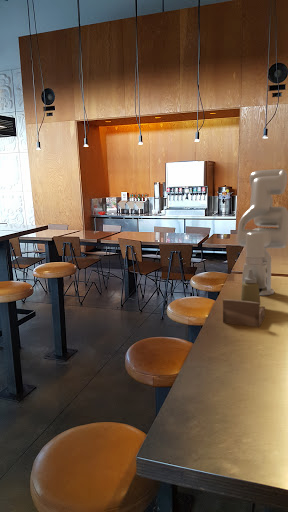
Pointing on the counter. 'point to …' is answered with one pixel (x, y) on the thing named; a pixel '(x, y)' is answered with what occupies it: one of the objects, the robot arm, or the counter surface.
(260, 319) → the walnut holder
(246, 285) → the squeeze bottle
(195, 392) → the counter surface
